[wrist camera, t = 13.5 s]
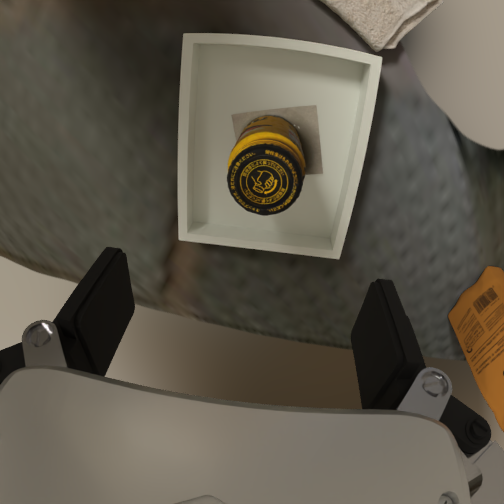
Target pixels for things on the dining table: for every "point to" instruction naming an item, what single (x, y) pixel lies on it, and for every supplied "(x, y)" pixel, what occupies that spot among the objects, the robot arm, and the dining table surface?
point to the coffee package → (484, 335)
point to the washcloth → (382, 18)
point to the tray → (294, 95)
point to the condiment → (273, 157)
